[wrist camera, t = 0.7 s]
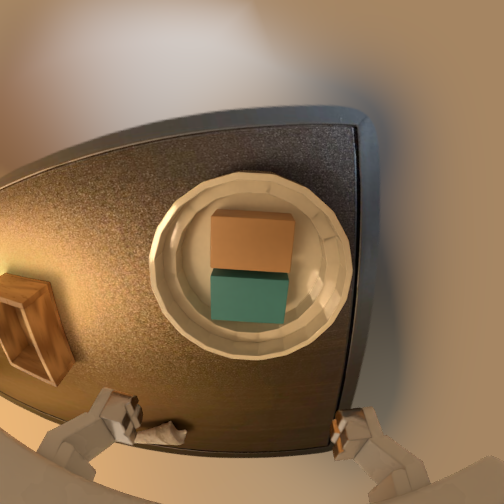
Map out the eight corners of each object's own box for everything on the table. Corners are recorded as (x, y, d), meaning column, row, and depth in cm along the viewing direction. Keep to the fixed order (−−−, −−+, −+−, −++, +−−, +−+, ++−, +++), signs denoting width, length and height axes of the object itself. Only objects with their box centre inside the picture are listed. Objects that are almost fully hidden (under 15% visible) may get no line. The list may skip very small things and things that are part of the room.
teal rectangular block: (215, 262, 23) (210, 275, 21) (286, 266, 23) (289, 280, 20) (215, 302, 24) (210, 319, 22) (281, 307, 24) (283, 324, 22)
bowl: (166, 168, 21) (145, 171, 17) (346, 179, 21) (366, 184, 17) (173, 323, 26) (160, 350, 22) (321, 332, 26) (330, 361, 22)
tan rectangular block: (216, 208, 22) (210, 215, 19) (291, 213, 22) (295, 220, 19) (215, 255, 23) (210, 268, 20) (286, 259, 23) (290, 273, 20)
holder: (5, 272, 25) (-20, 289, 20) (50, 281, 25) (21, 303, 20) (29, 345, 30) (11, 365, 24) (75, 362, 30) (57, 387, 24)
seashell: (186, 415, 33) (179, 424, 30) (193, 437, 32) (188, 447, 29) (110, 420, 33) (99, 427, 29) (118, 440, 32) (108, 448, 28)
